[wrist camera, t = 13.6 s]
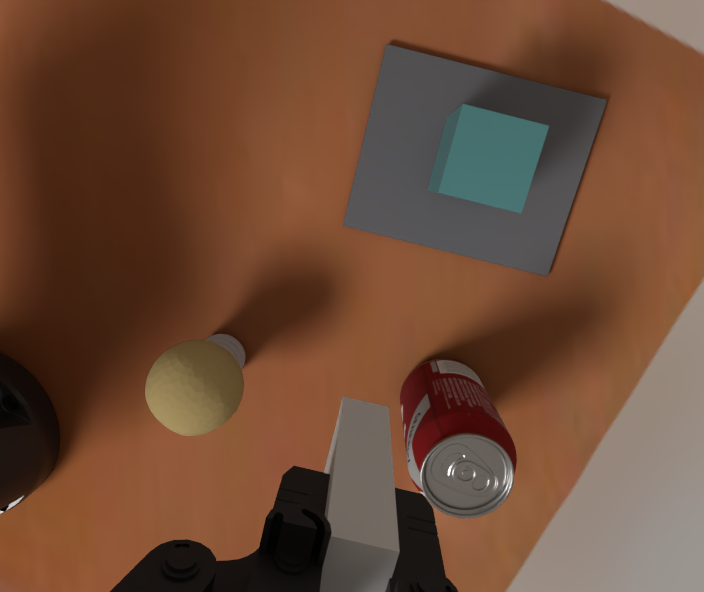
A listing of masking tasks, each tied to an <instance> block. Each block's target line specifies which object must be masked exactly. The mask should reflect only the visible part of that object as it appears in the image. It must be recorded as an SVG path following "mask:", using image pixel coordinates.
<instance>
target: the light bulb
mask: <svg viewBox="0 0 704 592" xmlns="http://www.w3.org/2000/svg"><path fill="white" fill-rule="evenodd" d="M244 363H245V352H244V348H243V346H242V345H241V343H240V342H239V341H238V340H237V339H235V338H234V337H232V336H230V335H226V334H215V335H212V336H210V337H209V338H207V339H206V340H189V341H185V342H182V343H178V344H176V345H174V346H173V347H171V348H169V349H167V350H166V351H165V352H164V353H163V354H162V355H160V357H159V358H158V359H157V360H156V362H155V363H154V364H153V366H152V368H151V370H150V372H149V374H148V377H147V380H146V385H145V397H146V401H147V404H148V406H149V408H150V410H151V412H152V413H153V415H154V416H155V417H156V418H157V419H158V420H159V421H160V422H161V423H162V424H163V425H164V426H166V427H167V428H168V429H170V430H172V431H174V432H176V433H178V434H181V435H185V436H196V435H201V434H205V433H208V432H211V431H213V430H215V429H217V428H218V427H220V426H222V425H223V424H224V423H225V422H227V421H228V420H229V419H230V418H231V416H232V415H233V414H234V413H235V412H236V410H237V408H238V406H239V404H240V402H241V399H242V396H243V389H244V380H243V374H242V371H241V369H242V368H243V366H244Z"/></svg>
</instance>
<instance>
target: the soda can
mask: <svg viewBox="0 0 704 592" xmlns="http://www.w3.org/2000/svg"><path fill="white" fill-rule="evenodd" d="M400 403H401V412H402V420H403V429H404V437H405V446H406V454H407V463H408V469H409V473H410V476H411V479H412V481H413V483H414V484H415V486H416V487H417V489H418V490H419V491H420V492H421V493H422V494H423V495H424V496H425V497H426V498H427V499H428V501H429V502H430V503H431V504H432V505H433V506H434V507H435V508H436V509H438V510H439V511H441V512H443V513H445V514H447V515H450V516H453V517H458V518H475V517H479V516H483V515H486V514H488V513H490V512H492V511H493V510H495V509H496V508H498V507H499V506H500V505H501V504H502V503H503V502H504V501H505V500H506V498H507V497H508V495H509V493H510V491H511V489H512V486H513V481H514V473H515V469H516V460H517V458H516V450H515V446H514V443H513V440H512V438H511V436H510V434H509V433H508V431H507V429H506V427H505V425H504V423H503V421H502V419H501V418H500V416H499V414H498V412H497V410H496V408H495V406H494V404H493V403H492V401H491V399H490V397H489V395H488V393H487V391H486V389H485V388H484V386H483V384H482V382H481V380H480V378H479V377H478V375H477V374H476V373H475V372H474V371H473V370H472V369H471V368H470V367H468V366H467V365H465V364H463V363H461V362H459V361H456V360H452V359H434V360H430V361H427V362H425V363H423V364H421V365H419V366H418V367H416V368H415V369H414V370H413V371H412V372H411V373H410V374H409V375H408V376H407V378H406V379H405V381H404V383H403V386H402V389H401V394H400Z"/></svg>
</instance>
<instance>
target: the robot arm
mask: <svg viewBox="0 0 704 592" xmlns="http://www.w3.org/2000/svg"><path fill="white" fill-rule="evenodd" d="M58 449H59V428H58V423H57V419H56V415H55V412H54V409H53V407H52V405H51V403H50V401H49V399H48V397H47V395H46V393H45V392H44V391H43V389H42V388H41V386H40V385H39V384H38V382H37V381H36V380H35V379H34V378H33V377H32V376H31V375H30V374H29V373H28V372H27V371H26V370H25V369H24V368H22V367H21V366H20V365H19V364H17V363H16V362H14V361H13V360H11V359H10V358H8V357H6V356H4V355H2V354H0V514H2V513H4V512H6V511H8V510H10V509H12V508H13V507H15V506H16V505H18V504H19V503H21V502H22V501H23V500H24V499H26V498H27V497H28V496H29V495H30V494H31V493H32V492H33V491H34V490H35V489H37V488H38V487H39V486H40V485H41V484H42V483H43V482H44V480H45V479H46V478H47V477H48V475H49V474H50V472H51V470H52V468H53V466H54V464H55V461H56V458H57V454H58ZM437 534H438V533H437V528H436V525H435V517H434V512H433V508H432V506H431V505H430V504H429V502H428V501H427V499H426V498H425V497H424V495H423V494H419V493H415V492H411V491H406V490H402V489H398V488H395V485H394V472H393V459H392V447H391V434H390V421H389V408H388V407H386V406H382V405H378V404H373V403H369V402H365V401H361V400H356V399H352V398H348V397H344V396H343V399H342V403H341V407H340V411H339V415H338V419H337V423H336V427H335V431H334V435H333V439H332V443H331V447H330V451H329V455H328V459H327V463H326V467H325V471H324V473H323V472H319V471H314V470H310V469H306V468H301V467H297V466H293V467H292V468H291V469H289V470H288V471H287V472H286V473H285V474H284V475H283V477H282V480H281V483H280V487H279V490H278V493H277V497H276V501H275V504H274V507H273V509H272V510H271V511H270V512H269V514H268V515H267V517H266V520H265V525H264V529H263V534H262V538H261V542H260V547H259V548H258V549H257V550H256V551H255V552H254V553H252V554H250V555H249V556H247V557H244V558H241V559H237V560H229V561H216V558H215V556H214V555H213V553H212V552H211V550H210V549H209V548H207V547H206V546H204V545H203V544H201V543H198V542H195V541H191V540H173V541H169V542H166V543H163V544H160V545H159V546H157V547H156V548H155V549H153V550H152V551H150V552H149V553H148V554H147V555H146V556H145V557H144V558H143V559H142V560H141V561H140V562H139V563H138V564H137V565H136V566H135V567H134V568H133V569H132V570H131V571H130V572H129V573H128V574H127V575H126V576H125V577H124V578H123V579H122V580H121V581H120V582H119V583H118V584H117V585H116V586H115V587H114V588H113V589H112V590H111V591H110V592H458V590H457V588H456V587H455V586H454V585H453V584H452V583H451V581H450V580H449V579H448V578H446V576H445V570H444V565H443V560H442V555H441V549H440V544H439V539H438V537H437Z"/></svg>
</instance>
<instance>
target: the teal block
mask: <svg viewBox="0 0 704 592" xmlns="http://www.w3.org/2000/svg"><path fill="white" fill-rule="evenodd" d="M548 128H549V126H548V125H544V124H540V123H536V122H532V121H528V120H525V119H521V118H517V117H513V116H509V115H505V114H501V113H497V112H493V111H489V110H485V109H481V108H477V107H473V106H469V105H465V104H462V105H461V106H460V107H459V108H458V109H456V110H455V111H454V112H453V113H452V114H451V115H449V116H448V117H447V120H446V123H445V127H444V131H443V134H442V138H441V142H440V145H439V149H438V153H437V156H436V160H435V164H434V167H433V171H432V175H431V178H430V182H429V186H428V189H427V190H428V191H432V192H436V193H440V194H444V195H448V196H451V197H455V198H459V199H463V200H467V201H471V202H475V203H479V204H483V205H487V206H491V207H495V208H500V209H504V210H508V211H513V212H517V213H522V210H523V207H524V204H525V201H526V197H527V194H528V191H529V188H530V185H531V182H532V179H533V175H534V172H535V169H536V166H537V163H538V160H539V157H540V153H541V150H542V147H543V144H544V141H545V138H546V135H547V131H548Z"/></svg>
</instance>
